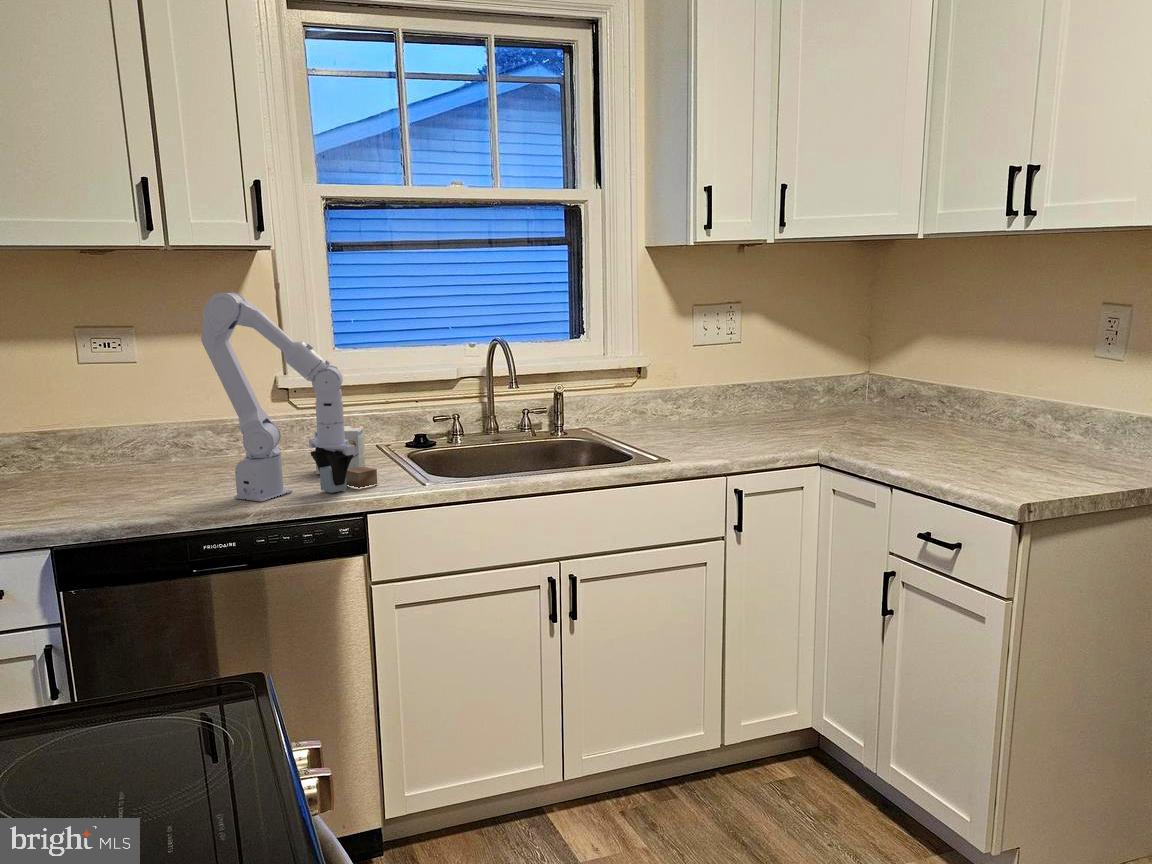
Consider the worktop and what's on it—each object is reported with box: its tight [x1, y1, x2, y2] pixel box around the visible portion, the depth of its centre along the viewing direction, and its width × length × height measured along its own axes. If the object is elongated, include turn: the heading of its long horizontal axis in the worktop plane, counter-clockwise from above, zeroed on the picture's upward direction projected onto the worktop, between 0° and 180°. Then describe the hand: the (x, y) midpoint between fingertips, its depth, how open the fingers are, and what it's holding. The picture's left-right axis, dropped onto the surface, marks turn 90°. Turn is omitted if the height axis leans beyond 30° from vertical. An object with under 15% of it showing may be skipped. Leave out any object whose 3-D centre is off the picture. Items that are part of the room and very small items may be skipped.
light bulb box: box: [314, 425, 366, 475], centre depth 216 cm, size 11×7×11 cm, turn 92°
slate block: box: [319, 466, 348, 494], centre depth 196 cm, size 4×4×5 cm
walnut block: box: [346, 466, 378, 488], centre depth 201 cm, size 5×5×4 cm
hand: (333, 483), depth 196 cm, fingers closed on slate block, 4 cm apart
